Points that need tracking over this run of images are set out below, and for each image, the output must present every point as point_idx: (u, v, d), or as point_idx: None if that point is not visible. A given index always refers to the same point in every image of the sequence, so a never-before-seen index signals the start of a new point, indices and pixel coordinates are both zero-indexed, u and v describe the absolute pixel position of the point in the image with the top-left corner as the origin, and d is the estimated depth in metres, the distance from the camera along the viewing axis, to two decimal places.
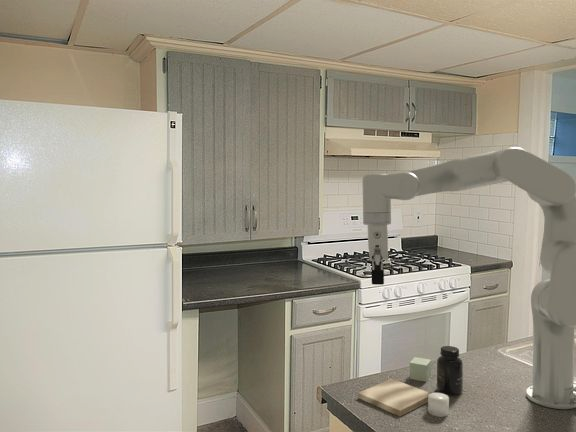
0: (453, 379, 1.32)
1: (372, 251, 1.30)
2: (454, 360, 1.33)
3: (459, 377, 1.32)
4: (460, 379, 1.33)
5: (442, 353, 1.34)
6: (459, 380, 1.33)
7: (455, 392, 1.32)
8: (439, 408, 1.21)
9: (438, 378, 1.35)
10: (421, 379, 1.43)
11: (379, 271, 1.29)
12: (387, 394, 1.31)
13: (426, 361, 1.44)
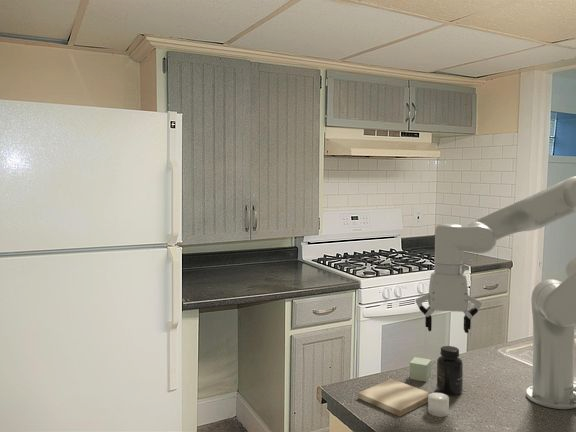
0: (453, 379, 1.32)
1: None
2: (454, 360, 1.33)
3: (459, 377, 1.32)
4: (460, 379, 1.33)
5: (442, 353, 1.34)
6: (459, 380, 1.33)
7: (455, 392, 1.32)
8: (439, 408, 1.21)
9: (438, 378, 1.35)
10: (421, 379, 1.43)
11: None
12: (387, 394, 1.31)
13: (426, 361, 1.44)
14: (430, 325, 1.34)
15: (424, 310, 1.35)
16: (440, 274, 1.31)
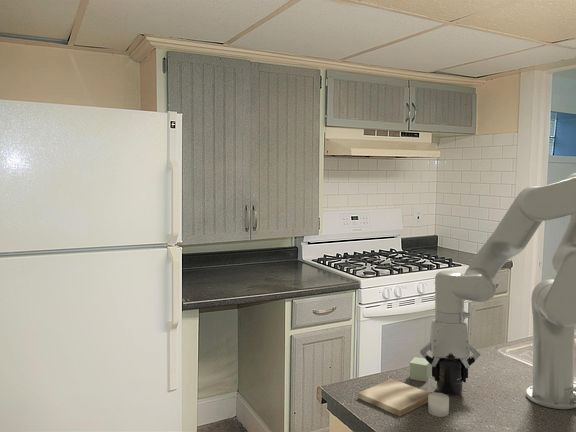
0: (453, 379, 1.32)
1: (469, 348, 1.33)
2: (454, 360, 1.33)
3: (459, 377, 1.32)
4: (460, 379, 1.33)
5: None
6: (459, 380, 1.33)
7: (455, 392, 1.32)
8: (439, 408, 1.21)
9: (438, 378, 1.35)
10: (421, 379, 1.43)
11: None
12: (387, 394, 1.31)
13: (426, 361, 1.44)
14: (436, 375, 1.35)
15: (429, 361, 1.35)
16: (441, 322, 1.32)
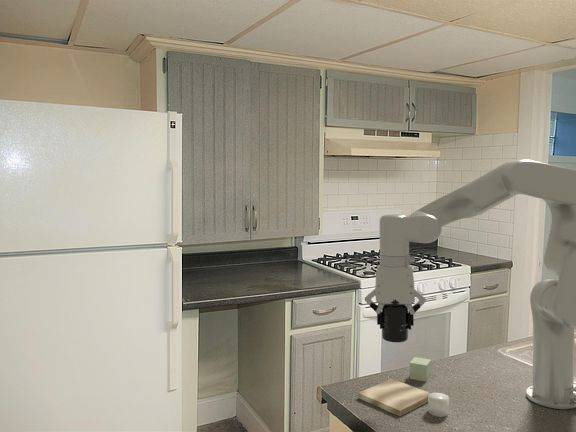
0: (397, 325, 1.27)
1: (414, 293, 1.27)
2: (398, 306, 1.28)
3: (403, 323, 1.27)
4: (405, 326, 1.28)
5: None
6: (404, 326, 1.27)
7: (399, 339, 1.27)
8: (439, 408, 1.21)
9: (383, 325, 1.30)
10: (421, 379, 1.43)
11: None
12: (387, 394, 1.31)
13: (426, 361, 1.44)
14: (381, 322, 1.29)
15: (374, 308, 1.30)
16: (385, 266, 1.27)
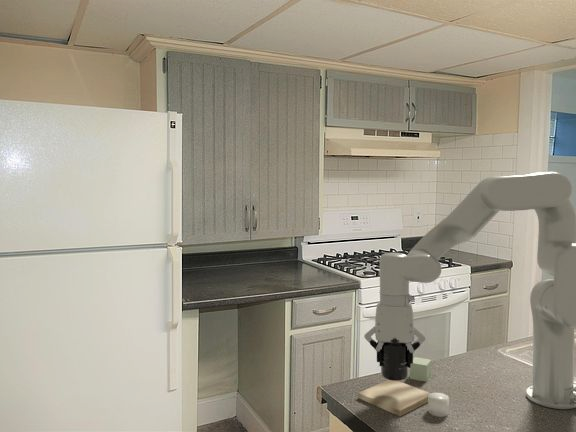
0: (396, 364, 1.28)
1: (414, 332, 1.28)
2: (398, 344, 1.28)
3: (403, 362, 1.28)
4: (404, 364, 1.28)
5: None
6: (403, 365, 1.28)
7: (399, 377, 1.28)
8: (439, 408, 1.21)
9: (382, 363, 1.30)
10: (421, 379, 1.43)
11: None
12: (387, 394, 1.31)
13: (426, 361, 1.44)
14: (381, 360, 1.30)
15: (374, 345, 1.31)
16: (384, 305, 1.28)
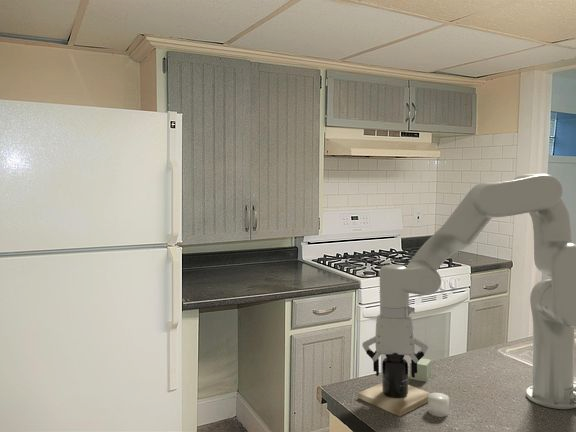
0: (397, 381, 1.28)
1: (414, 344, 1.28)
2: (398, 362, 1.29)
3: (403, 379, 1.28)
4: (405, 381, 1.29)
5: None
6: (404, 382, 1.28)
7: (399, 394, 1.28)
8: (439, 408, 1.21)
9: (383, 380, 1.31)
10: (421, 379, 1.43)
11: None
12: None
13: (426, 361, 1.44)
14: (377, 370, 1.30)
15: (371, 354, 1.31)
16: (385, 317, 1.28)
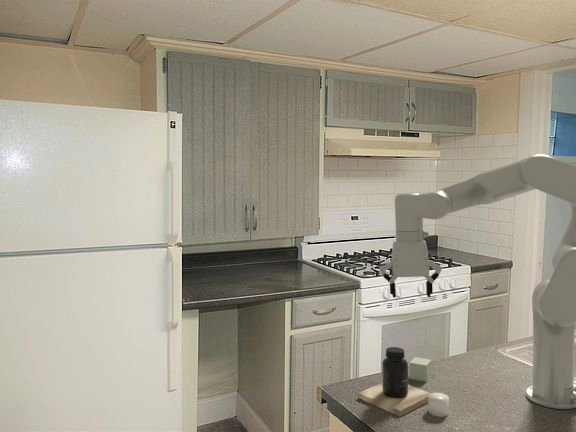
0: (397, 381, 1.28)
1: None
2: (399, 362, 1.29)
3: (403, 379, 1.28)
4: (405, 381, 1.29)
5: (387, 354, 1.30)
6: (404, 382, 1.28)
7: (399, 395, 1.28)
8: (439, 408, 1.21)
9: (383, 380, 1.31)
10: (421, 379, 1.43)
11: None
12: None
13: (426, 361, 1.44)
14: (394, 291, 1.39)
15: (388, 277, 1.39)
16: (401, 241, 1.36)
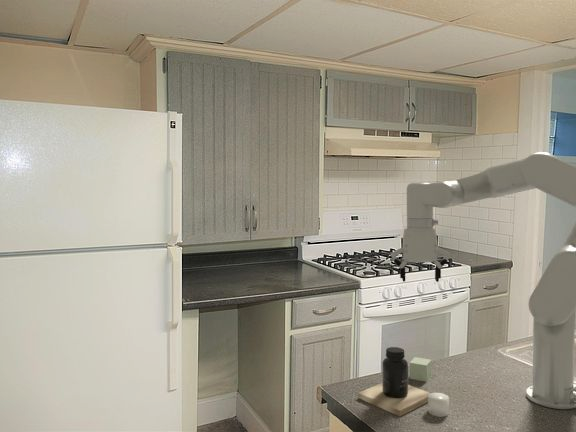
0: (397, 381, 1.28)
1: None
2: (399, 362, 1.29)
3: (403, 379, 1.28)
4: (405, 381, 1.29)
5: (387, 354, 1.30)
6: (404, 382, 1.28)
7: (399, 395, 1.28)
8: (439, 408, 1.21)
9: (383, 380, 1.31)
10: (421, 379, 1.43)
11: None
12: None
13: (426, 361, 1.44)
14: (404, 276, 1.46)
15: (398, 262, 1.47)
16: (411, 228, 1.44)
